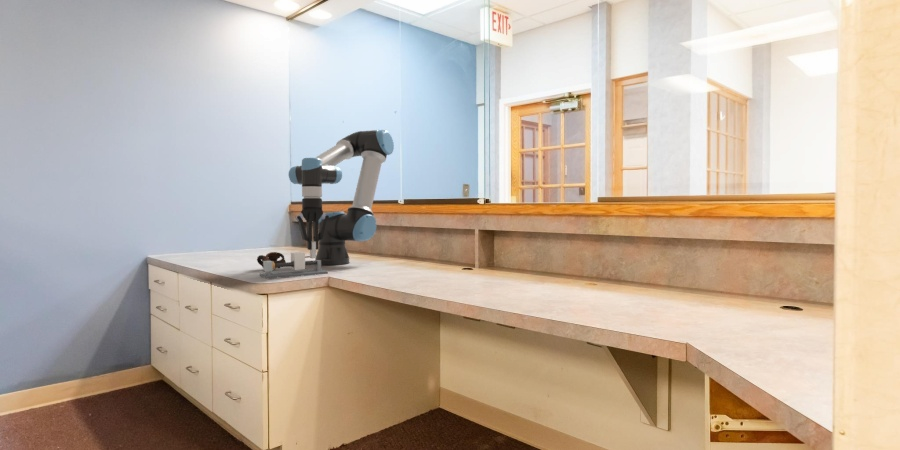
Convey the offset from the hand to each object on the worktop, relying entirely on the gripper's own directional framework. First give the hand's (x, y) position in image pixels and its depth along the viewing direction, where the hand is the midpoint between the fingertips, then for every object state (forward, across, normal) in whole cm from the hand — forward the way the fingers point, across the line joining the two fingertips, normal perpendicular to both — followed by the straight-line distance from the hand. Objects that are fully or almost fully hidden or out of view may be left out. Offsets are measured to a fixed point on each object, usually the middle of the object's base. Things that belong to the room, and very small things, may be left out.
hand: (312, 258), depth 200 cm
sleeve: (+4, +6, 0) cm, 7 cm away
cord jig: (+6, +7, 0) cm, 9 cm away
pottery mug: (+6, +10, -21) cm, 24 cm away
